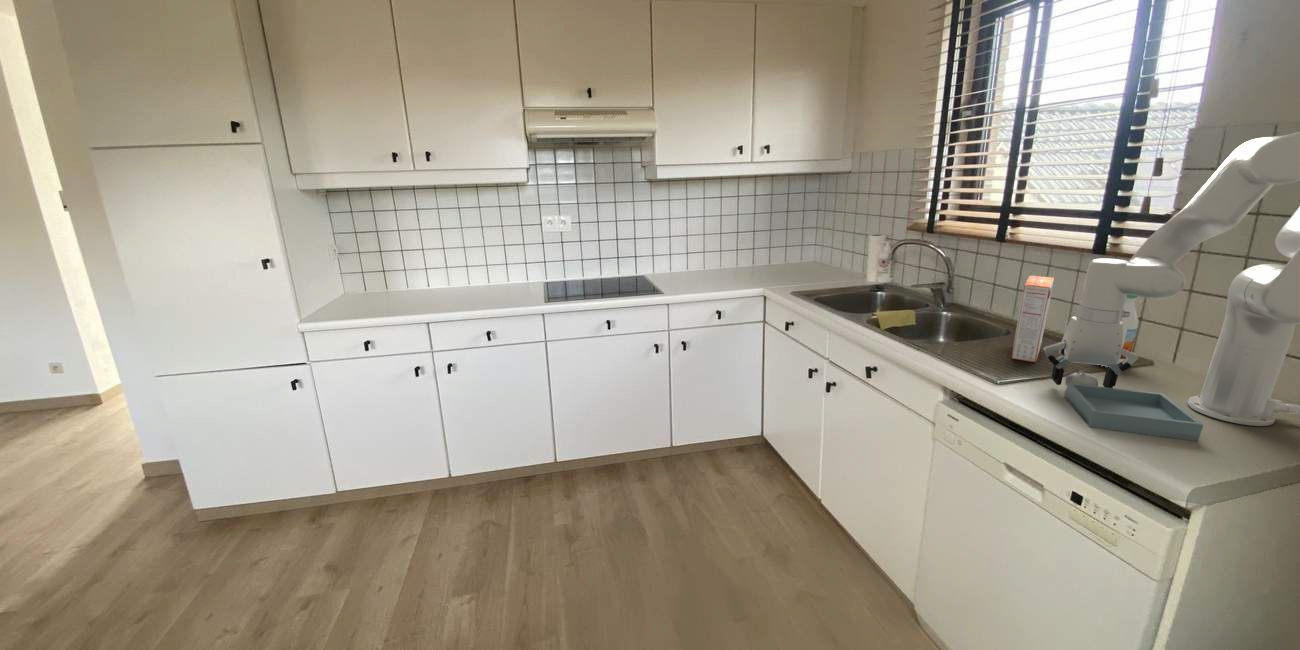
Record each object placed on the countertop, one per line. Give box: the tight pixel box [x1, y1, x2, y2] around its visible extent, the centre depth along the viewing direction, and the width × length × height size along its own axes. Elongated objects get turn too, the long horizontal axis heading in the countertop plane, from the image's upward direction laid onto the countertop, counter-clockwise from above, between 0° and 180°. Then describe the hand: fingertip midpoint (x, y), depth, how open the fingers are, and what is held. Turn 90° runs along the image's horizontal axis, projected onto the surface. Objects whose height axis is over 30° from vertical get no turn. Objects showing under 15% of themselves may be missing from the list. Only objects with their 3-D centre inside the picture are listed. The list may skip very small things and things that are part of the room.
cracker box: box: [1011, 275, 1055, 363], centre depth 144 cm, size 14×6×21 cm, turn 141°
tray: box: [1064, 383, 1204, 442], centre depth 110 cm, size 17×15×4 cm
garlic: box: [1064, 370, 1099, 387], centre depth 123 cm, size 6×5×5 cm
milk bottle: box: [1100, 295, 1139, 368], centre depth 136 cm, size 8×8×20 cm
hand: (1081, 385), depth 123 cm, fingers open, 9 cm apart
